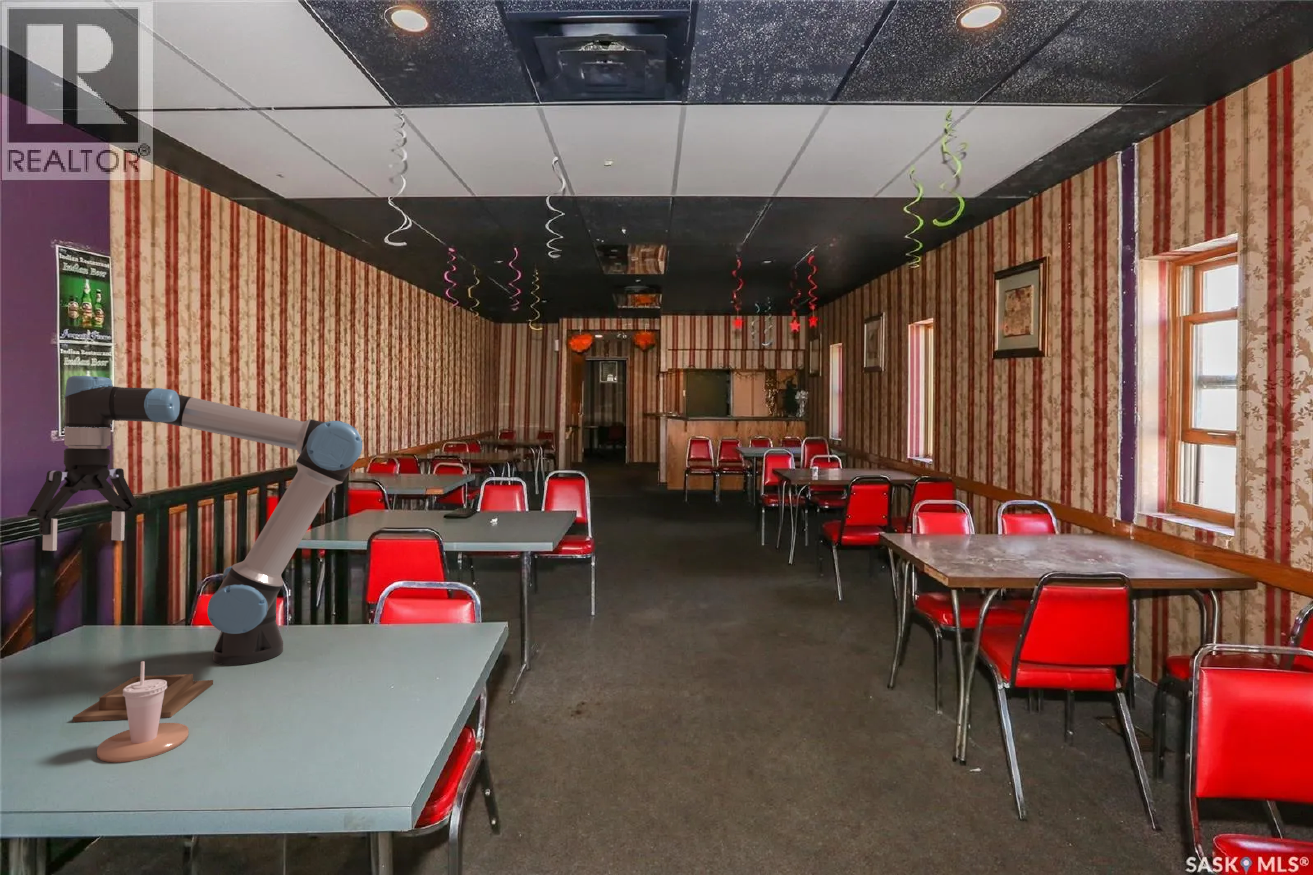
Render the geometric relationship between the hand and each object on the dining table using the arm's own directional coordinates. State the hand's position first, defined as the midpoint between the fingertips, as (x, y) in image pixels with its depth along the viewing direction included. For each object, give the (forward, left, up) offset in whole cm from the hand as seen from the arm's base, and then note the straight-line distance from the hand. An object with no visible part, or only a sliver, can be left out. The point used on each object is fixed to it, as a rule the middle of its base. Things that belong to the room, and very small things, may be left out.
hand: (85, 545), depth 139 cm
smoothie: (-27, +28, -31) cm, 50 cm away
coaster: (-27, +28, -32) cm, 50 cm away
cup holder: (-17, +8, -32) cm, 37 cm away
